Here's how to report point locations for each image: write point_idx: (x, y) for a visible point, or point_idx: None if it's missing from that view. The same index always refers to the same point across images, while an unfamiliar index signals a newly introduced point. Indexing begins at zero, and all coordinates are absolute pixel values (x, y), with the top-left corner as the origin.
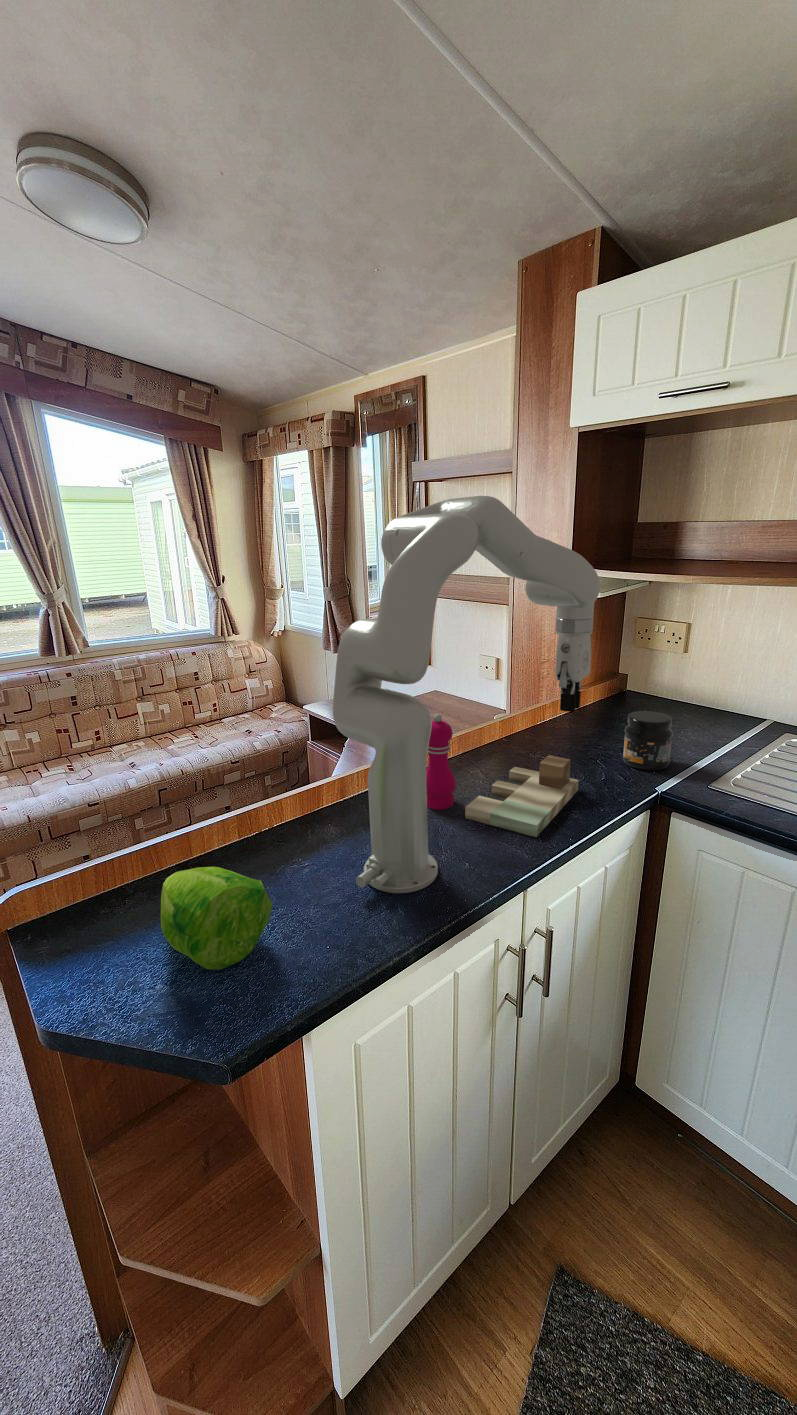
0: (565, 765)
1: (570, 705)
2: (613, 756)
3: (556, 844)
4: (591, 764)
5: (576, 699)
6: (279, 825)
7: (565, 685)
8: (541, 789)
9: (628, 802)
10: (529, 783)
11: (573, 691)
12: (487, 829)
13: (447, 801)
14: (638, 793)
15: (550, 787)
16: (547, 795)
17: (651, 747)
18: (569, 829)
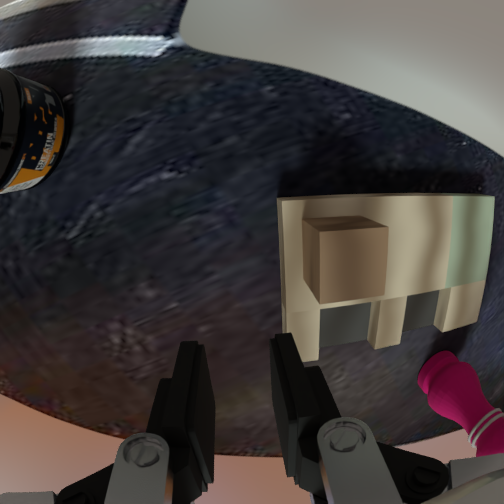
0: (363, 227)
1: (312, 374)
2: (31, 215)
3: (481, 159)
4: (99, 237)
5: (202, 392)
6: None
7: (491, 470)
8: None
9: (273, 75)
10: None
11: (348, 443)
12: None
13: (454, 356)
14: (208, 71)
15: None
16: (402, 228)
17: (34, 94)
18: (443, 152)
